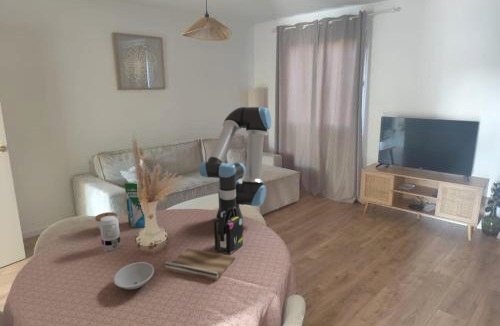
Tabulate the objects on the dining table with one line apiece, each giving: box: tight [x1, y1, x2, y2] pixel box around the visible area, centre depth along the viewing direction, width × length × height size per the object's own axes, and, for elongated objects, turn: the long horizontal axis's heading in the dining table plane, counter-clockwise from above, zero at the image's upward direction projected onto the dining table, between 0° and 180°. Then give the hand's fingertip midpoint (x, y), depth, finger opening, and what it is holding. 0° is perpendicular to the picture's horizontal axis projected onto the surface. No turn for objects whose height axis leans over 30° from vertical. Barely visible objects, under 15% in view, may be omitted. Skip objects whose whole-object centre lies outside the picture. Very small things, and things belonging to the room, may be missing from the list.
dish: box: [113, 261, 155, 290], centre depth 128 cm, size 18×14×5 cm
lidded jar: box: [94, 211, 118, 230], centre depth 179 cm, size 11×11×9 cm
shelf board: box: [164, 247, 236, 282], centre depth 143 cm, size 18×24×3 cm
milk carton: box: [124, 180, 145, 228], centre depth 184 cm, size 9×9×25 cm
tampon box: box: [213, 216, 244, 255], centre depth 156 cm, size 11×9×15 cm
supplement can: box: [99, 215, 122, 252], centre depth 157 cm, size 8×8×15 cm
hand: (229, 241), depth 157 cm, fingers closed on tampon box, 12 cm apart
